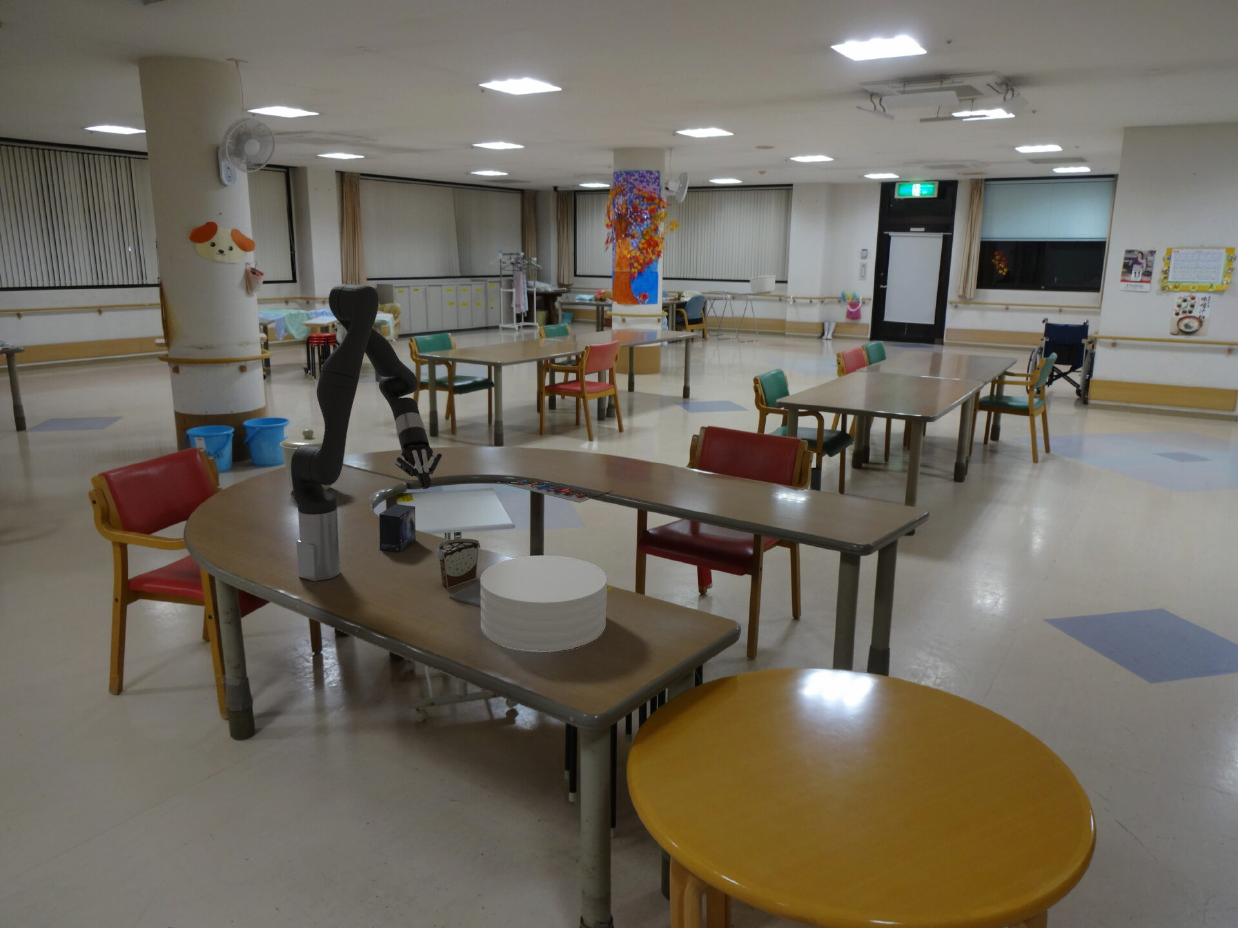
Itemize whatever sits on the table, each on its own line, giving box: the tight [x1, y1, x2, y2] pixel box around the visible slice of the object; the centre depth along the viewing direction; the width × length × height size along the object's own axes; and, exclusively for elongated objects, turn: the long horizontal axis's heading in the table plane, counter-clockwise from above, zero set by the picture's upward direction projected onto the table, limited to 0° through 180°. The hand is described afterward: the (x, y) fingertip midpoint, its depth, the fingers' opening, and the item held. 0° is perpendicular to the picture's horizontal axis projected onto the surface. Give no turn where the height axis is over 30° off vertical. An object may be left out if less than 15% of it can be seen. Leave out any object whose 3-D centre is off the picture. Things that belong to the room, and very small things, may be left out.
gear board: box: [496, 480, 593, 503], centre depth 306 cm, size 45×2×19 cm
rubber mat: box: [449, 580, 481, 608], centre depth 211 cm, size 18×10×1 cm, turn 149°
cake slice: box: [435, 538, 481, 590], centre depth 215 cm, size 12×6×10 cm, turn 141°
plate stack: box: [479, 555, 608, 651], centre depth 192 cm, size 28×28×12 cm
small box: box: [378, 503, 417, 553], centre depth 239 cm, size 11×6×10 cm, turn 168°
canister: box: [279, 428, 333, 491], centre depth 288 cm, size 18×18×21 cm
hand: (426, 487), depth 228 cm, fingers closed
